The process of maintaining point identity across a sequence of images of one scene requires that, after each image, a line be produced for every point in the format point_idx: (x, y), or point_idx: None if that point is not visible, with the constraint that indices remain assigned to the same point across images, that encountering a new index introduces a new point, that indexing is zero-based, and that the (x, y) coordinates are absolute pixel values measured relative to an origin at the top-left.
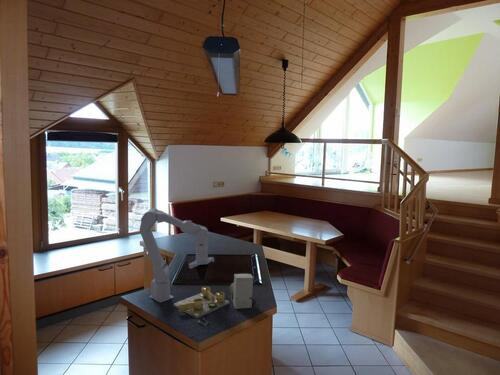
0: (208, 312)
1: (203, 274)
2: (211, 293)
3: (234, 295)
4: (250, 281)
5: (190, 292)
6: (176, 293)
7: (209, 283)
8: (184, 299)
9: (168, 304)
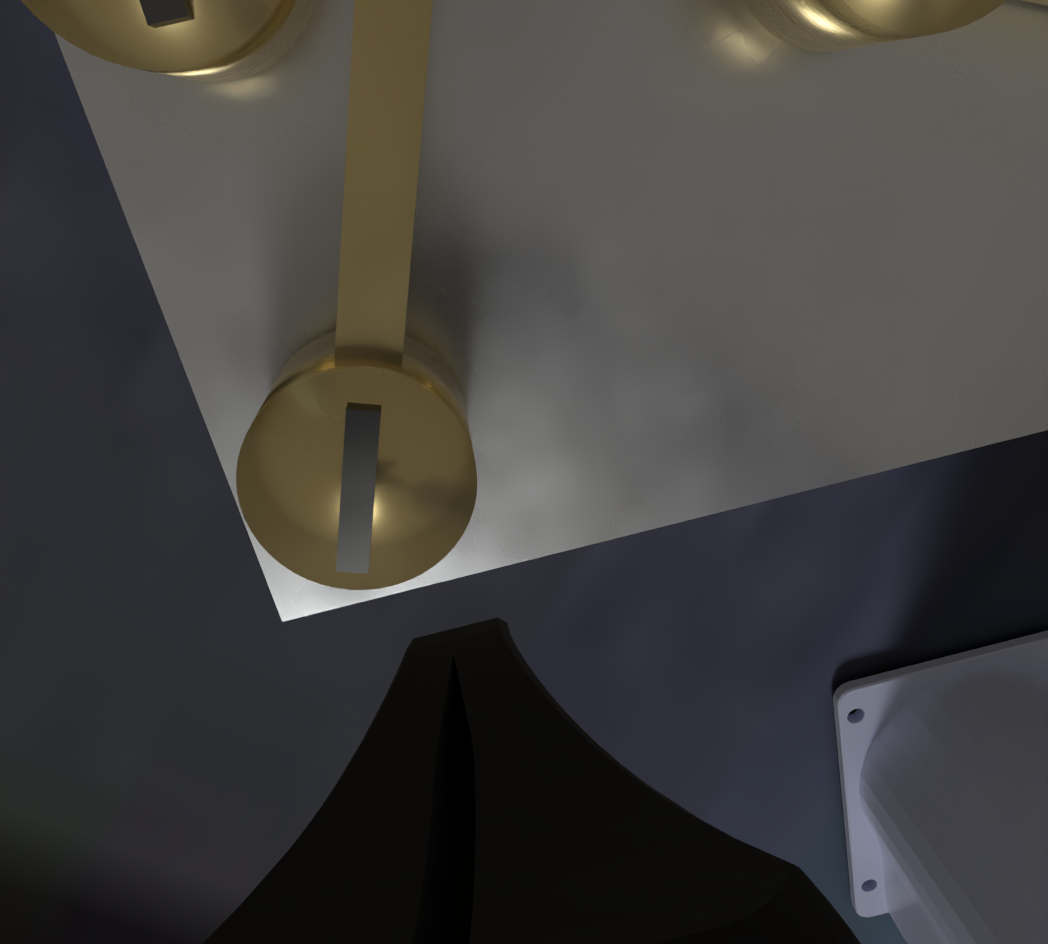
0: None
1: (476, 717)
2: (359, 140)
3: None
4: None
5: None
6: (708, 804)
7: (27, 921)
8: (801, 487)
9: (1028, 515)
